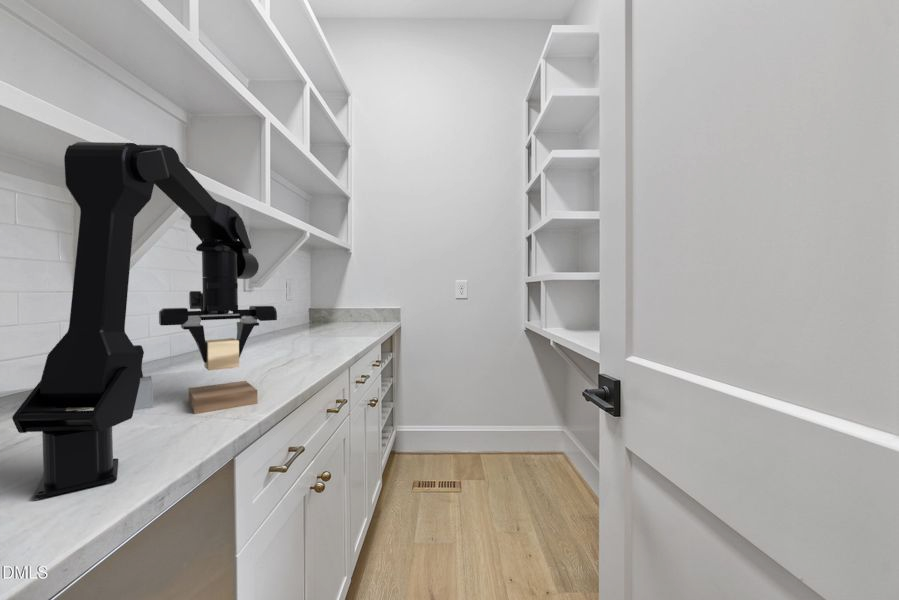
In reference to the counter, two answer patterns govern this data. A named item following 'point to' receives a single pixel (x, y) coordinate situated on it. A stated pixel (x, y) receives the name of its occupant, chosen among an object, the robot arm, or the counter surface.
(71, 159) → the robot arm
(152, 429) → the counter surface
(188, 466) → the counter surface
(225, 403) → the walnut block
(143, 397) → the slate cube
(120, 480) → the counter surface
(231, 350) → the maple cube
